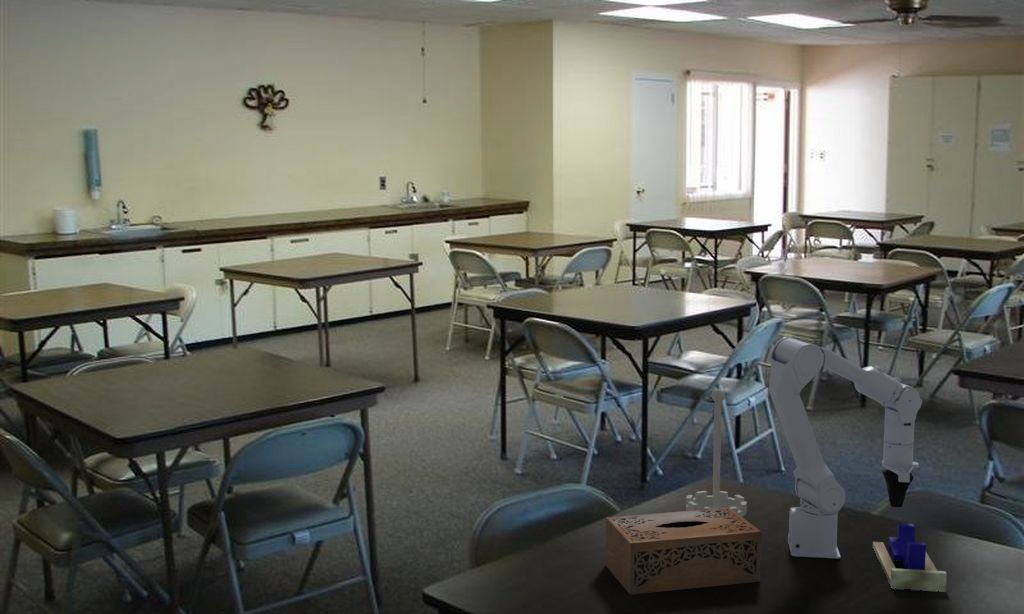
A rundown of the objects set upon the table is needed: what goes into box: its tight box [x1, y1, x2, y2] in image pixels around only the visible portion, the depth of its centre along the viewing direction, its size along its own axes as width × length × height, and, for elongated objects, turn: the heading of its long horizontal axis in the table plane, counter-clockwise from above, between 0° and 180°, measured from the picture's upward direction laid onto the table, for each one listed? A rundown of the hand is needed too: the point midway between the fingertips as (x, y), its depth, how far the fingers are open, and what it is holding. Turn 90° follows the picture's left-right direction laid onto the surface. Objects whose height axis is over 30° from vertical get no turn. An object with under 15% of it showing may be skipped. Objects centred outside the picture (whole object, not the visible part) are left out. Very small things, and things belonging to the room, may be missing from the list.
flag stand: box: [685, 388, 748, 518], centre depth 226 cm, size 13×13×30 cm
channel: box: [872, 541, 948, 593], centre depth 201 cm, size 10×21×4 cm, turn 170°
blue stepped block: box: [888, 522, 927, 570], centre depth 204 cm, size 12×4×6 cm, turn 170°
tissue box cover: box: [605, 507, 762, 595], centre depth 199 cm, size 26×14×10 cm, turn 103°
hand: (896, 506), depth 214 cm, fingers closed
